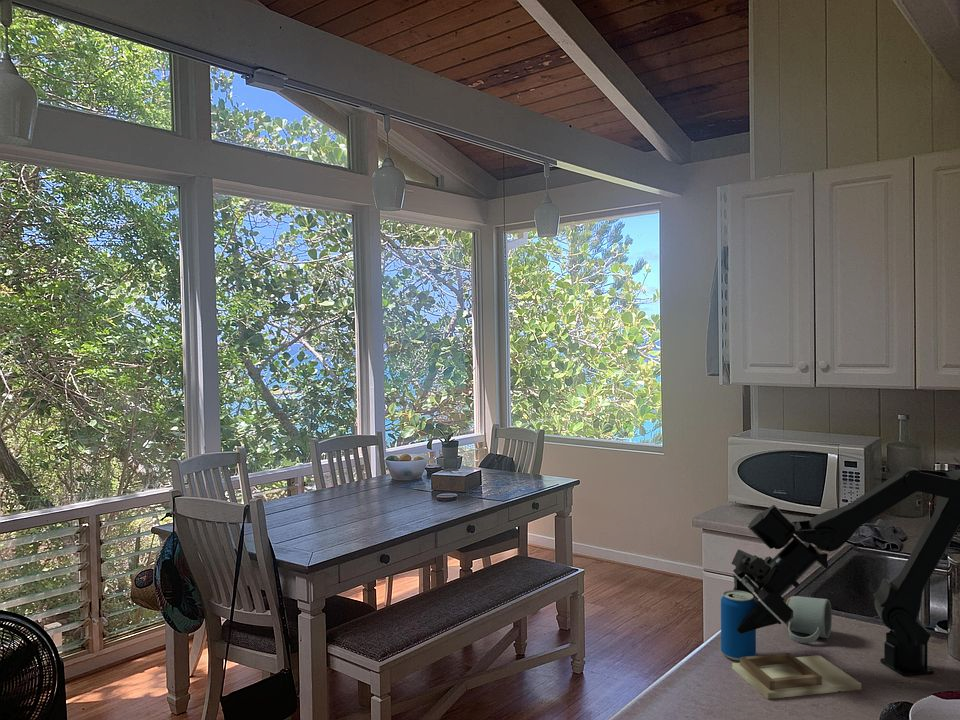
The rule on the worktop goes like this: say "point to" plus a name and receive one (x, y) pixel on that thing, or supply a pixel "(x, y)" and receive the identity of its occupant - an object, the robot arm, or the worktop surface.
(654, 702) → the worktop surface
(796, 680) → the can holder
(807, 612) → the ceramic mug
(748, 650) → the beverage can
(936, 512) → the robot arm
